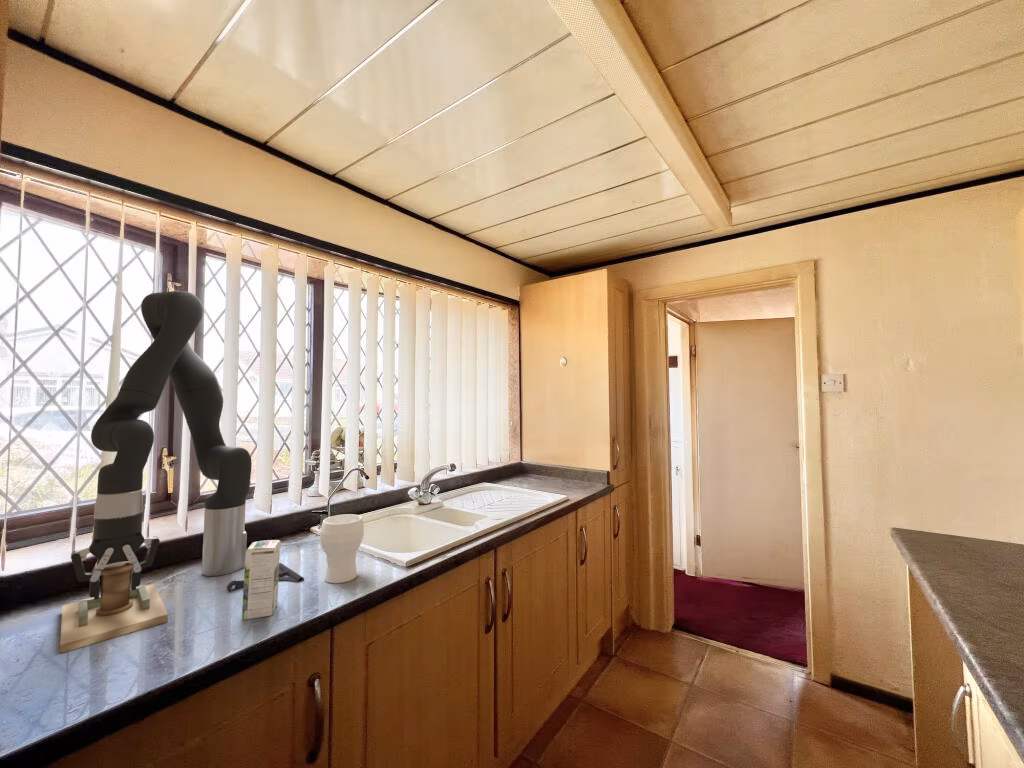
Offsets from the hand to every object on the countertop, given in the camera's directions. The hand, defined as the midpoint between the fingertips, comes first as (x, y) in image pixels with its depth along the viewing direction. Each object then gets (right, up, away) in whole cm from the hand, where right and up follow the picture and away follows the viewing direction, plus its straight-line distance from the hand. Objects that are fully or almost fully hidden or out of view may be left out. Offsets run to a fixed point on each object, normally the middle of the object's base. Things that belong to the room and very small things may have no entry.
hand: (115, 593), depth 87 cm
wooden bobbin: (0, -3, 0) cm, 3 cm away
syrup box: (+30, -5, +2) cm, 30 cm away
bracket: (+21, -7, +17) cm, 28 cm away
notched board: (0, -5, 0) cm, 5 cm away
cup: (+40, -6, +20) cm, 45 cm away
